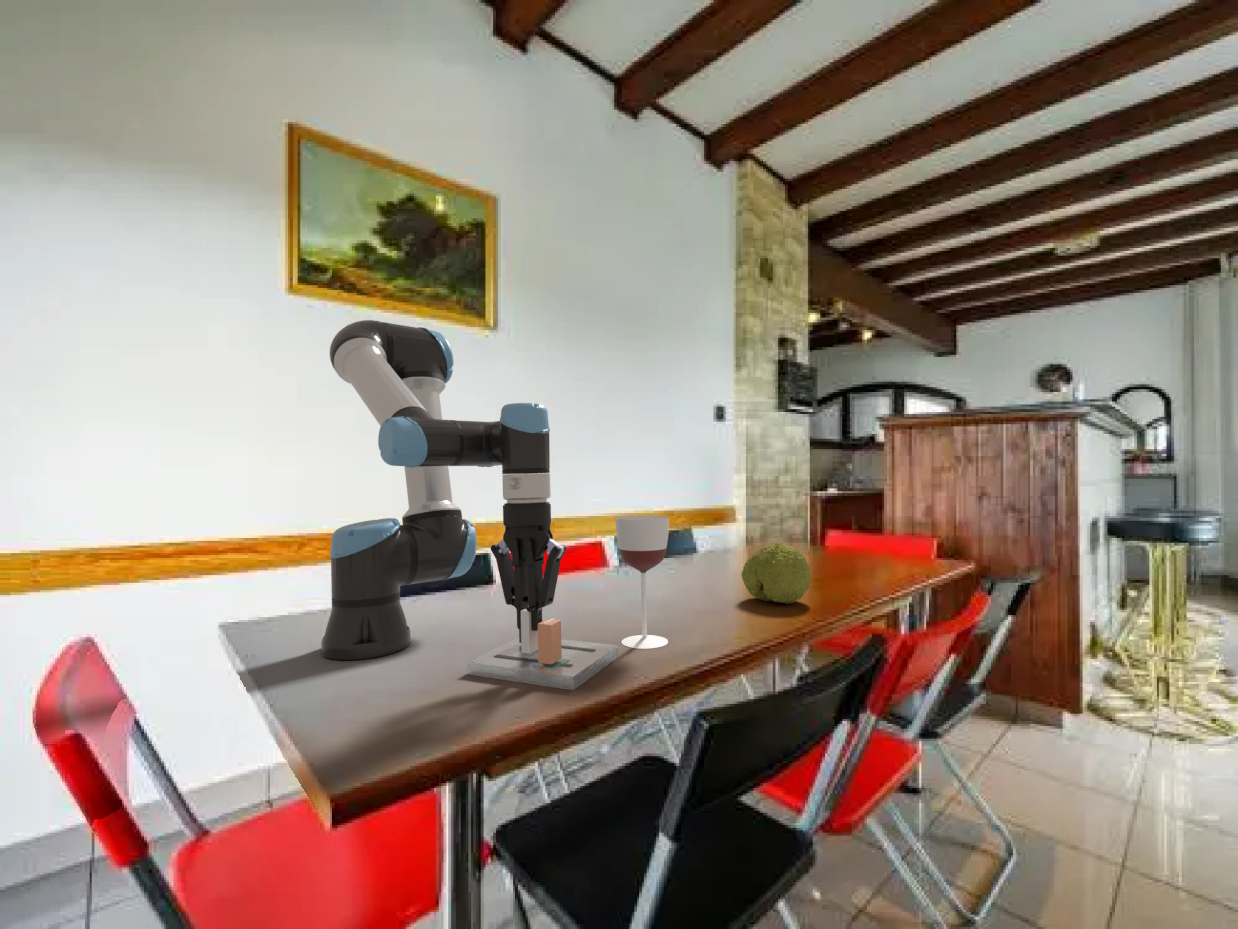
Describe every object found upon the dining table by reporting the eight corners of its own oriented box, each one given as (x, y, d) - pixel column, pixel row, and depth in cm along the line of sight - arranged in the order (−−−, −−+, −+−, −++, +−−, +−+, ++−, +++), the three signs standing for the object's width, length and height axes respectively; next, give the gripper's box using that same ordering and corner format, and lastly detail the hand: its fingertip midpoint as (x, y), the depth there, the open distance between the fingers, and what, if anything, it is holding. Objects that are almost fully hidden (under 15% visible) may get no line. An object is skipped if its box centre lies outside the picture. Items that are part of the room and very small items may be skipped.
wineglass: (668, 650, 101) (665, 519, 102) (613, 647, 103) (610, 519, 104) (674, 635, 110) (671, 515, 111) (623, 633, 112) (620, 515, 113)
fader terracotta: (538, 662, 89) (537, 622, 89) (548, 656, 91) (547, 617, 92) (551, 664, 88) (551, 623, 88) (561, 658, 91) (560, 619, 91)
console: (467, 674, 91) (467, 661, 91) (523, 645, 106) (523, 634, 106) (573, 690, 83) (573, 676, 83) (618, 657, 98) (617, 644, 98)
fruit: (733, 605, 134) (727, 544, 141) (765, 617, 143) (758, 559, 150) (796, 591, 124) (786, 526, 131) (827, 604, 133) (816, 543, 140)
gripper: (478, 502, 91) (481, 653, 90) (549, 502, 85) (553, 662, 85) (506, 500, 97) (509, 640, 97) (574, 499, 92) (577, 647, 92)
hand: (530, 650), depth 91 cm, fingers closed
